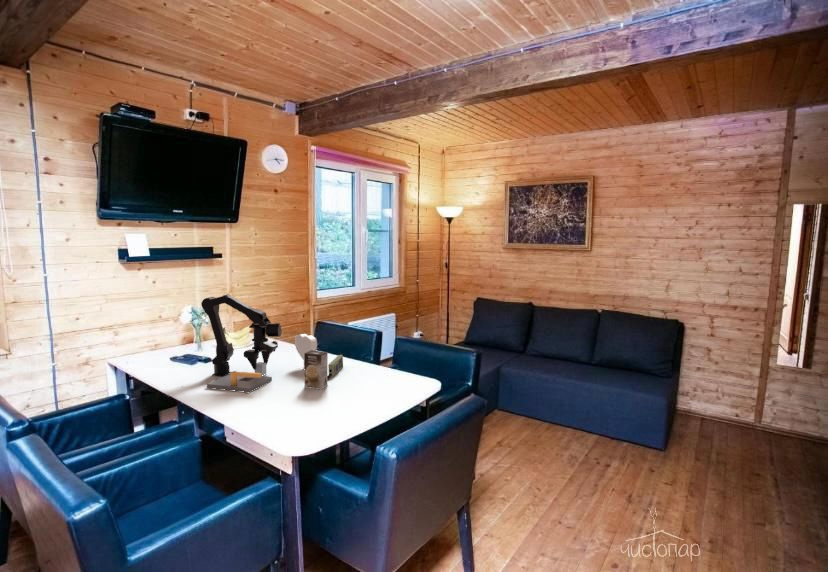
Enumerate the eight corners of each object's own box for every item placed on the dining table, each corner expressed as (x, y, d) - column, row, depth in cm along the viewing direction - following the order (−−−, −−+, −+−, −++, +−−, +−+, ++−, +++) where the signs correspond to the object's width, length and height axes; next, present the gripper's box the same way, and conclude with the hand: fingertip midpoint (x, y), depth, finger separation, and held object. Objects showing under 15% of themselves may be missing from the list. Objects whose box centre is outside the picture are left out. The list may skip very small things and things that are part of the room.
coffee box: (303, 387, 205) (303, 353, 203) (311, 383, 211) (310, 349, 209) (321, 389, 202) (320, 354, 200) (328, 385, 208) (328, 351, 206)
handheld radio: (344, 366, 240) (331, 380, 216) (338, 366, 241) (324, 380, 216) (343, 354, 240) (330, 367, 215) (337, 354, 240) (323, 367, 215)
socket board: (206, 388, 202) (206, 383, 202) (232, 376, 219) (232, 372, 219) (248, 392, 196) (248, 388, 196) (271, 380, 213) (271, 376, 213)
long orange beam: (232, 383, 202) (232, 371, 201) (262, 385, 200) (262, 372, 199) (229, 385, 199) (229, 372, 199) (259, 386, 197) (259, 374, 197)
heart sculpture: (318, 370, 232) (318, 336, 230) (310, 372, 228) (310, 338, 226) (301, 364, 242) (301, 332, 241) (293, 366, 239) (293, 333, 237)
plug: (254, 375, 222) (254, 364, 221) (259, 373, 225) (259, 362, 225) (261, 376, 221) (261, 364, 220) (266, 374, 224) (266, 362, 224)
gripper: (262, 341, 210) (263, 373, 212) (284, 333, 228) (284, 363, 230) (242, 339, 213) (243, 371, 215) (265, 332, 231) (265, 361, 232)
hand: (260, 367), depth 223 cm, fingers open, 9 cm apart
